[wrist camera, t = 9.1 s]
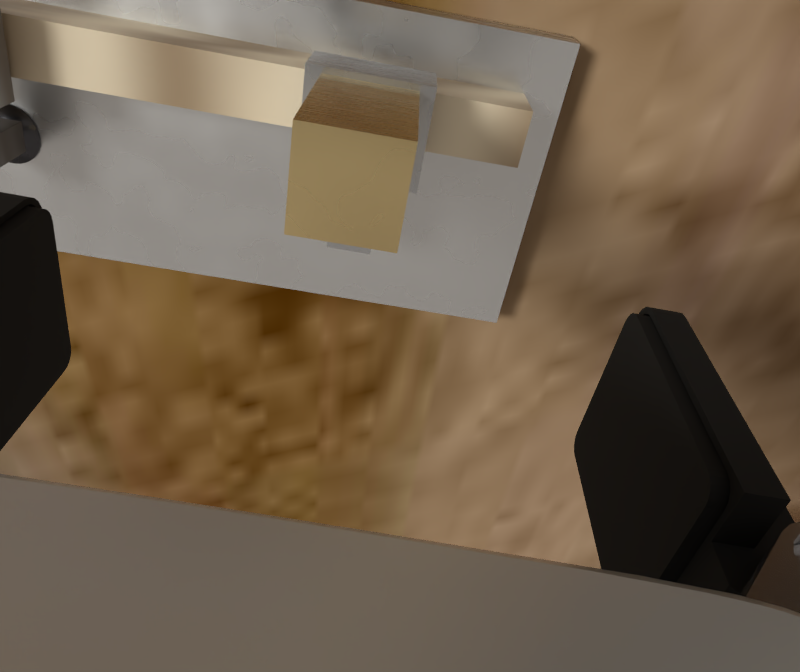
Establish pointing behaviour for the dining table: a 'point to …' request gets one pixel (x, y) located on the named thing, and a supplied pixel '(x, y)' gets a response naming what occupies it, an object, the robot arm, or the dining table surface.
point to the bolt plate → (270, 156)
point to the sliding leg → (357, 151)
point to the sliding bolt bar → (217, 78)
